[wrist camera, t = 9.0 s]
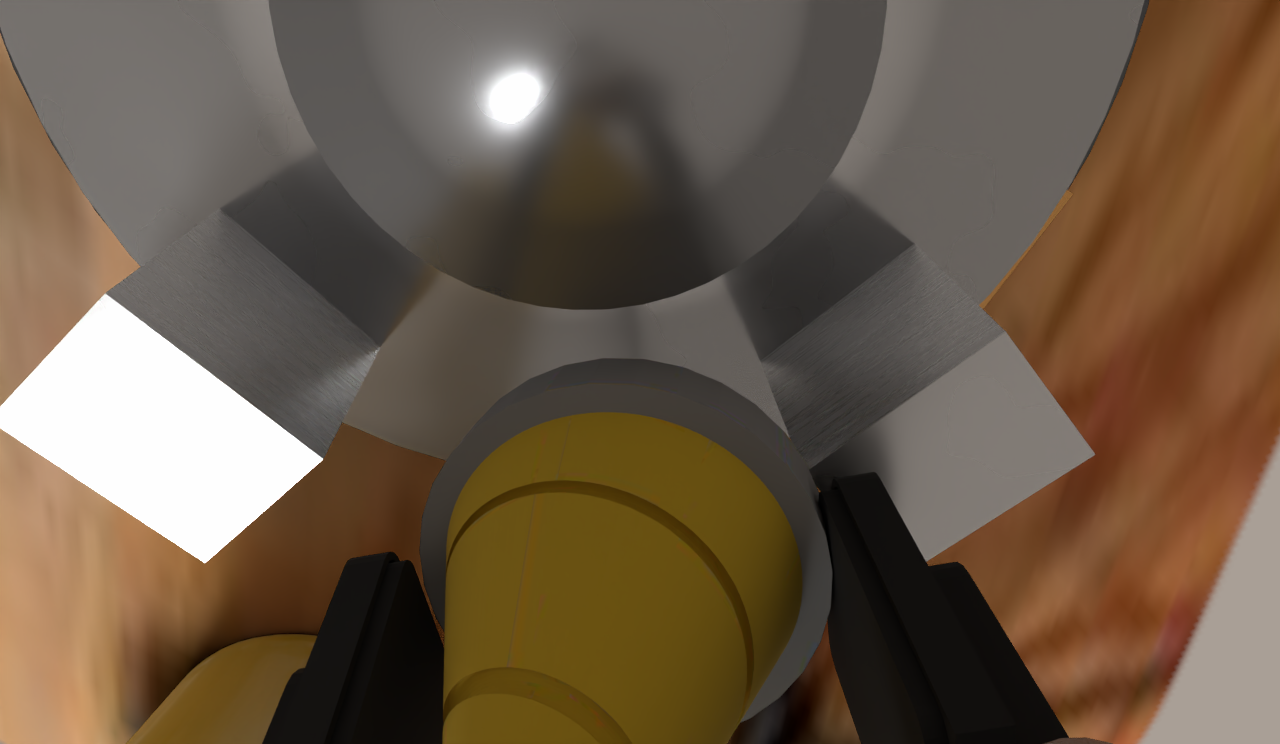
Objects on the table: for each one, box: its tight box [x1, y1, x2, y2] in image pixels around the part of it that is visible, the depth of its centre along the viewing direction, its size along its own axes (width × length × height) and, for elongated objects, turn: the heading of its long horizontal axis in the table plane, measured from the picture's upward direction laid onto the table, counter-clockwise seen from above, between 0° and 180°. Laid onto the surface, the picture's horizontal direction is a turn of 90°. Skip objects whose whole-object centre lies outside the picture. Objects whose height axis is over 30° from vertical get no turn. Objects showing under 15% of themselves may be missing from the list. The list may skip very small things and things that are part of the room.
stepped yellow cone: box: [419, 358, 832, 744], centre depth 10 cm, size 5×5×10 cm
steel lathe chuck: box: [0, 0, 1144, 563], centre depth 10 cm, size 15×15×4 cm
